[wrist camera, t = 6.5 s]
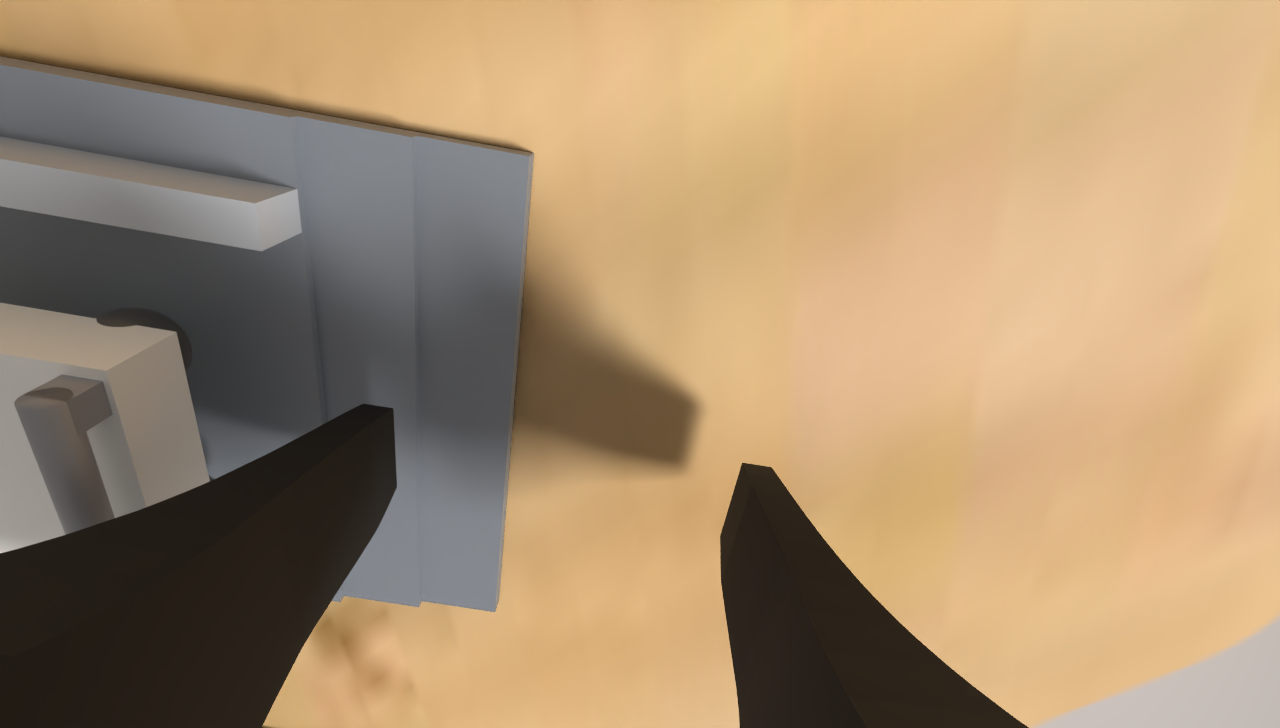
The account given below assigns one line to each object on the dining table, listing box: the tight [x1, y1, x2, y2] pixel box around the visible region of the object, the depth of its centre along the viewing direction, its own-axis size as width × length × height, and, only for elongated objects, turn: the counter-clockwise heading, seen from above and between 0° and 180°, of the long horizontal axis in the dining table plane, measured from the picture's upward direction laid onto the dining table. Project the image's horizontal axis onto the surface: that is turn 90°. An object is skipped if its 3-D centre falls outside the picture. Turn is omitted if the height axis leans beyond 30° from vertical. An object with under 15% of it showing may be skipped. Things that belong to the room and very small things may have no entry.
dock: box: [0, 56, 534, 612], centre depth 12 cm, size 12×16×2 cm
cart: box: [0, 303, 214, 553], centre depth 10 cm, size 5×6×3 cm
